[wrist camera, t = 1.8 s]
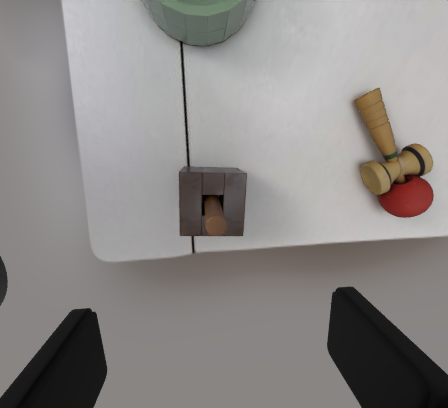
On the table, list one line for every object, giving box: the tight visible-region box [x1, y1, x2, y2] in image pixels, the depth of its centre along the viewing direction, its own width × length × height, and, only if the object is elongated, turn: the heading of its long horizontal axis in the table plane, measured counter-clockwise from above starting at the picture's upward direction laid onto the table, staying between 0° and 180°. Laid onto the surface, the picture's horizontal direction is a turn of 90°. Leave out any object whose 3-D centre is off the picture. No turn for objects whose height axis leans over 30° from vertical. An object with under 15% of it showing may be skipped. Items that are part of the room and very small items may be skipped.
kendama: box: [354, 88, 434, 218], centre depth 31 cm, size 8×6×18 cm
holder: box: [179, 167, 247, 236], centre depth 29 cm, size 7×7×7 cm
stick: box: [204, 195, 227, 236], centre depth 26 cm, size 2×2×14 cm
